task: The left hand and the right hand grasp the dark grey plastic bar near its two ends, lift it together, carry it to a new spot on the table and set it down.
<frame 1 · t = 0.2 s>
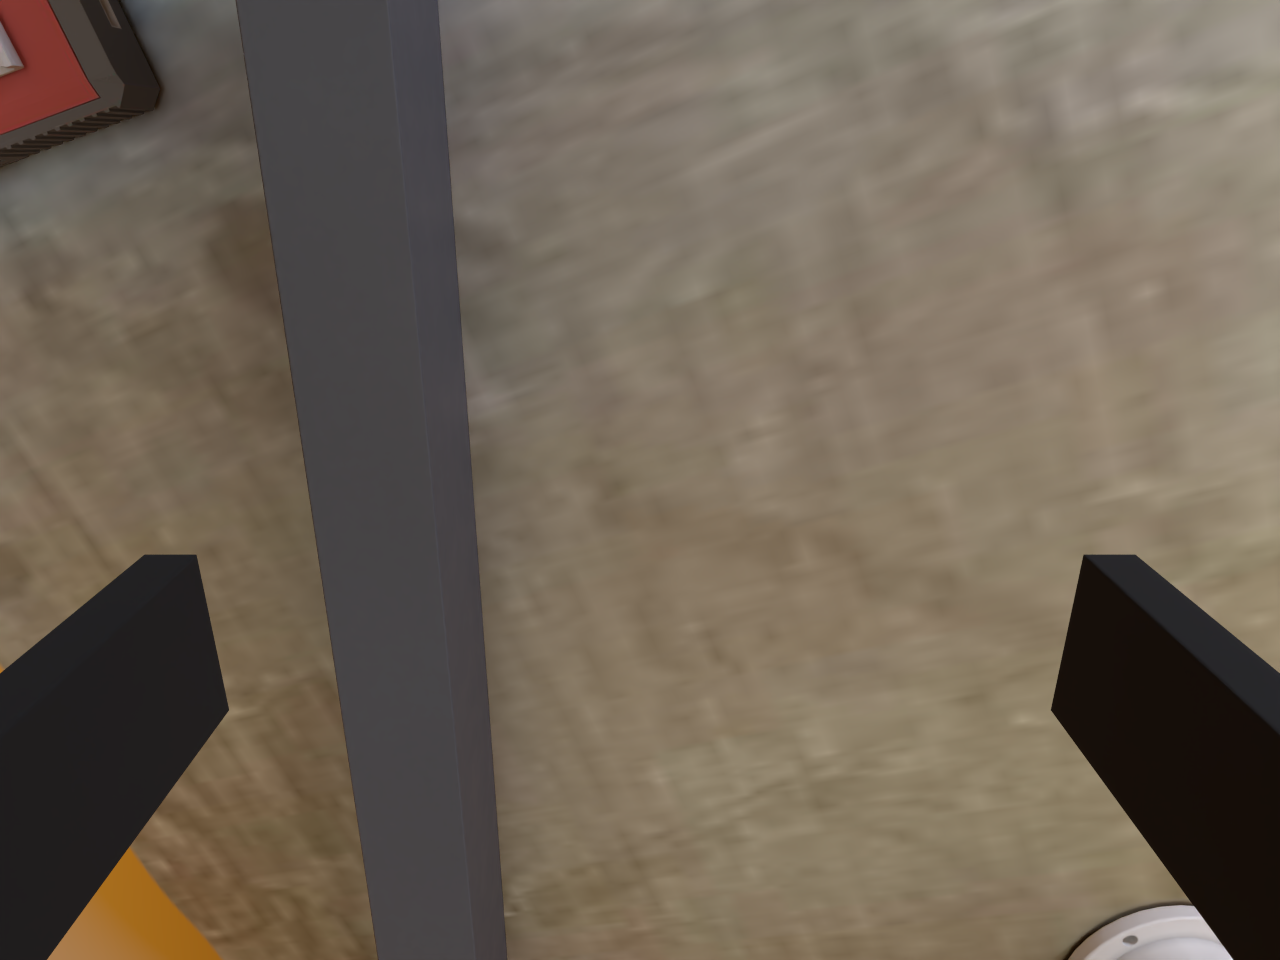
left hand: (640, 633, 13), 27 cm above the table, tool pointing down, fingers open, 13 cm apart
bar: (432, 584, 43), on the table
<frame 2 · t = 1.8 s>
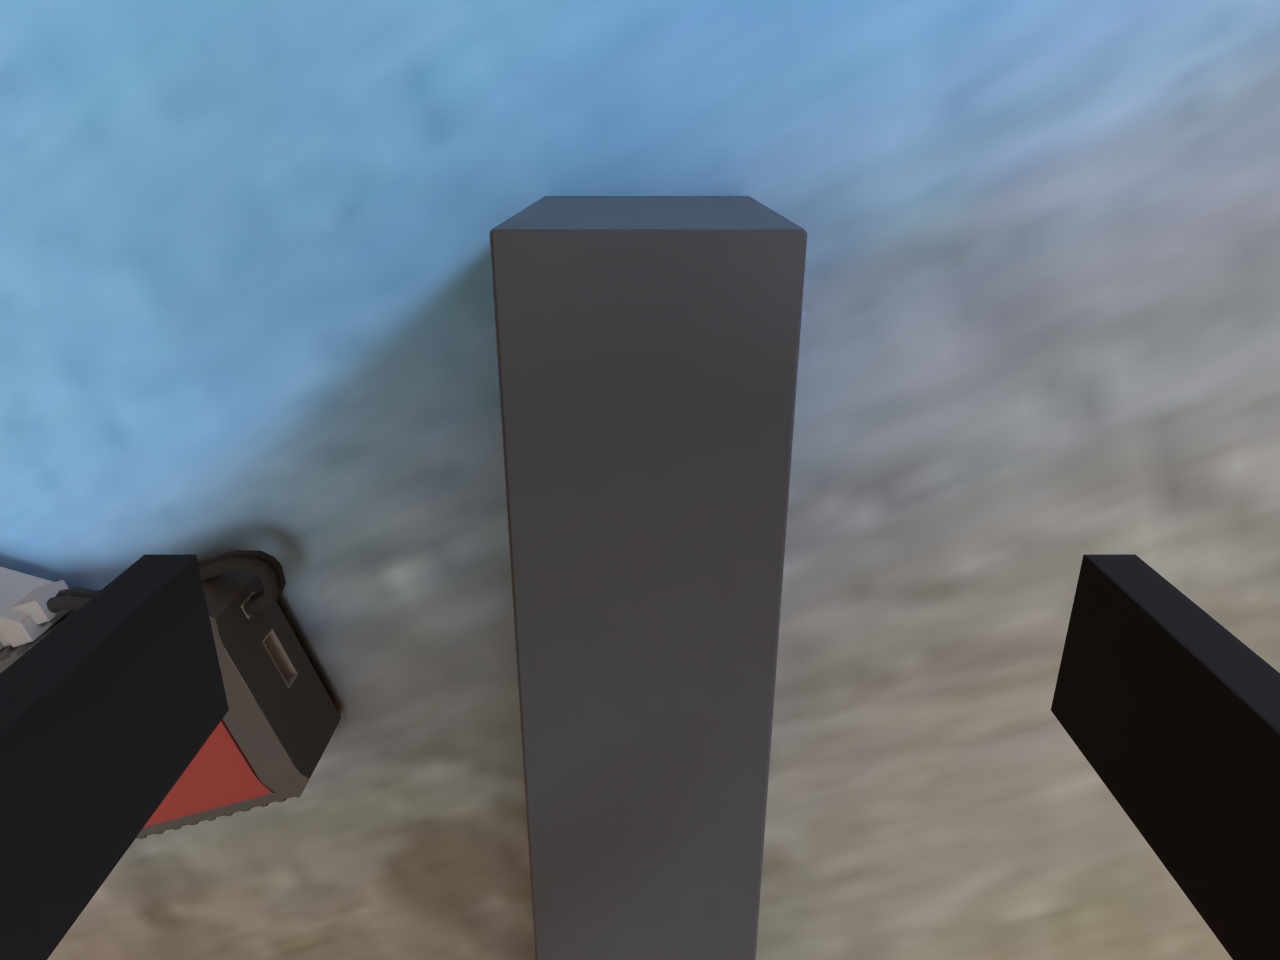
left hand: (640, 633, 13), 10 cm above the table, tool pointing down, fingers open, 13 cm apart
walkie-talkie: (24, 687, 25), on the table
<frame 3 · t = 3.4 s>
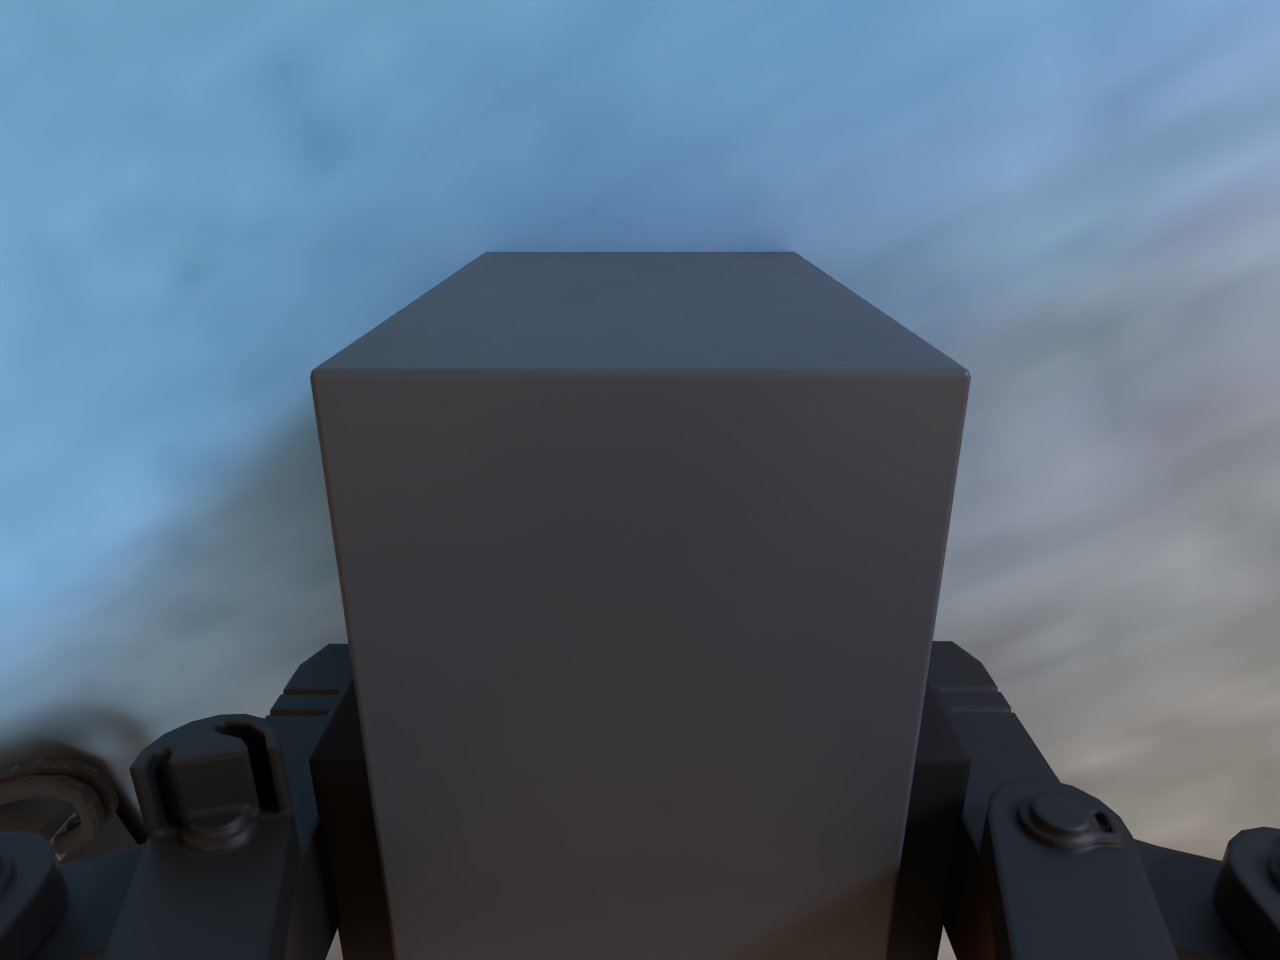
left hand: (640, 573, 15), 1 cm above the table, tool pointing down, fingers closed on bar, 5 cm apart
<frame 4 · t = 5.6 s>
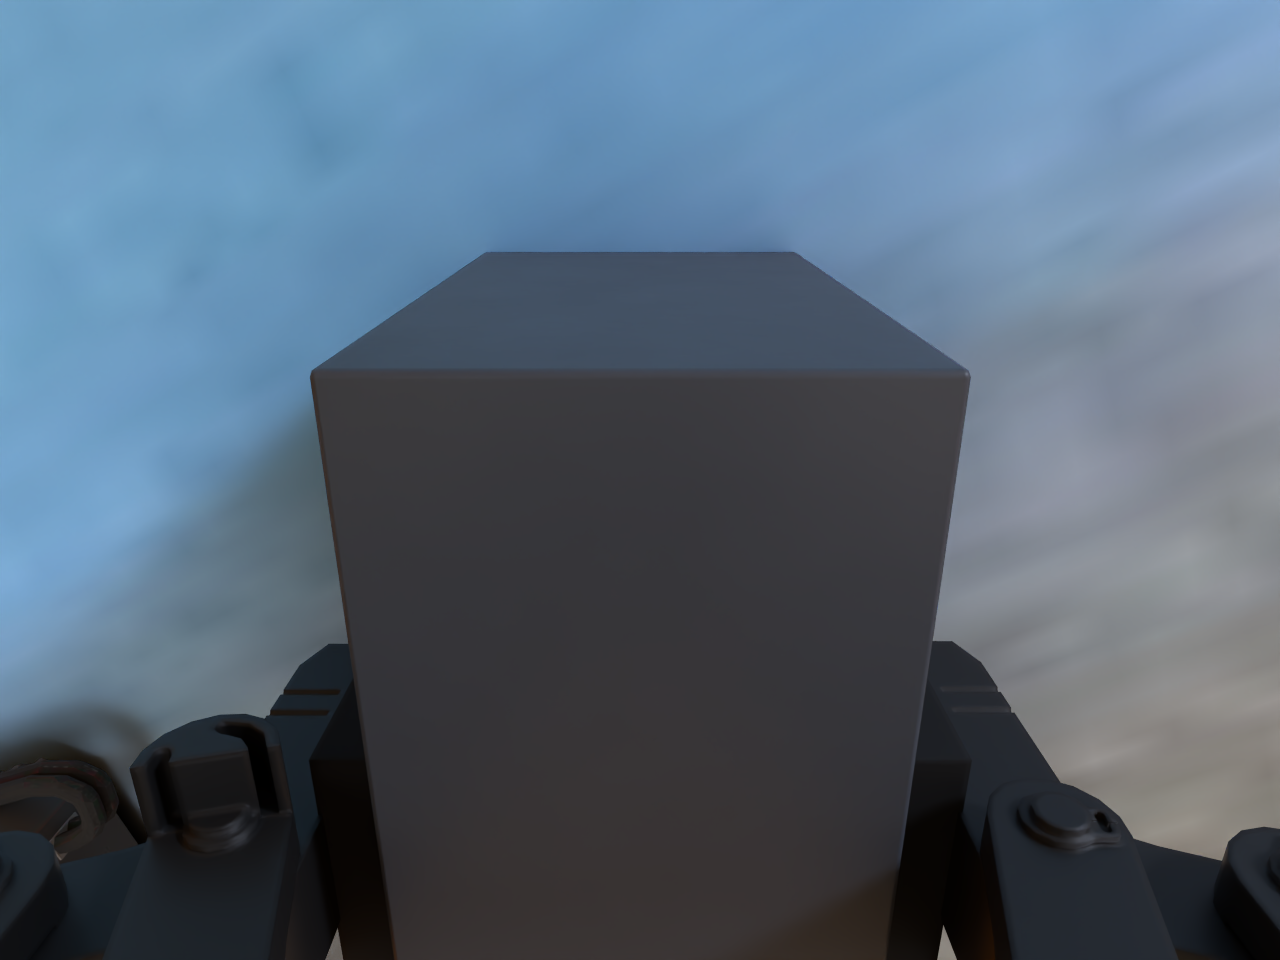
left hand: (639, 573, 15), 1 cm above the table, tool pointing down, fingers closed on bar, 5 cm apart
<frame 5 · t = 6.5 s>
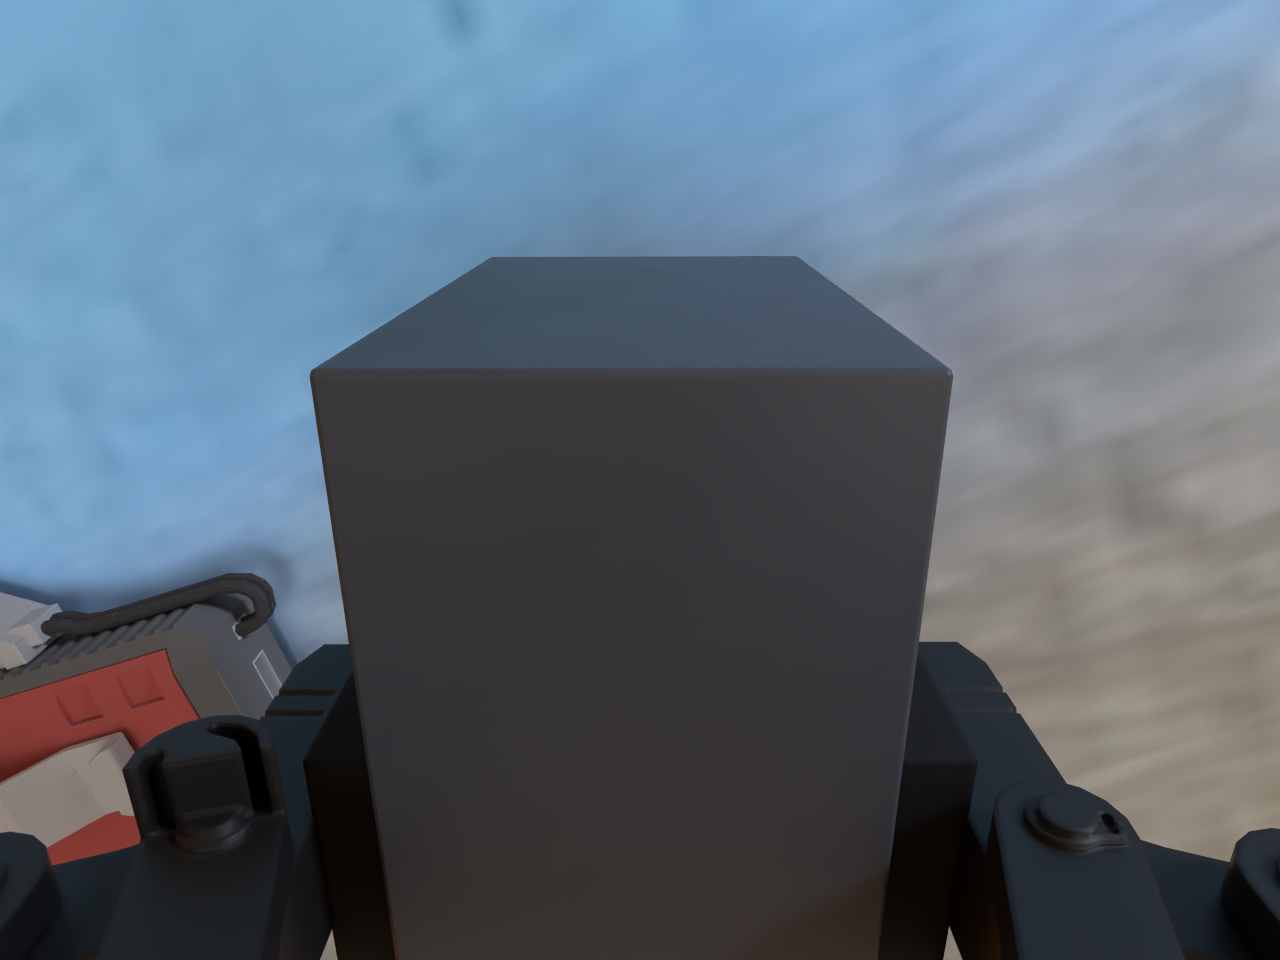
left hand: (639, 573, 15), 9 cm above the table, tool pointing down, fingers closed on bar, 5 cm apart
walkie-talkie: (15, 710, 26), on the table
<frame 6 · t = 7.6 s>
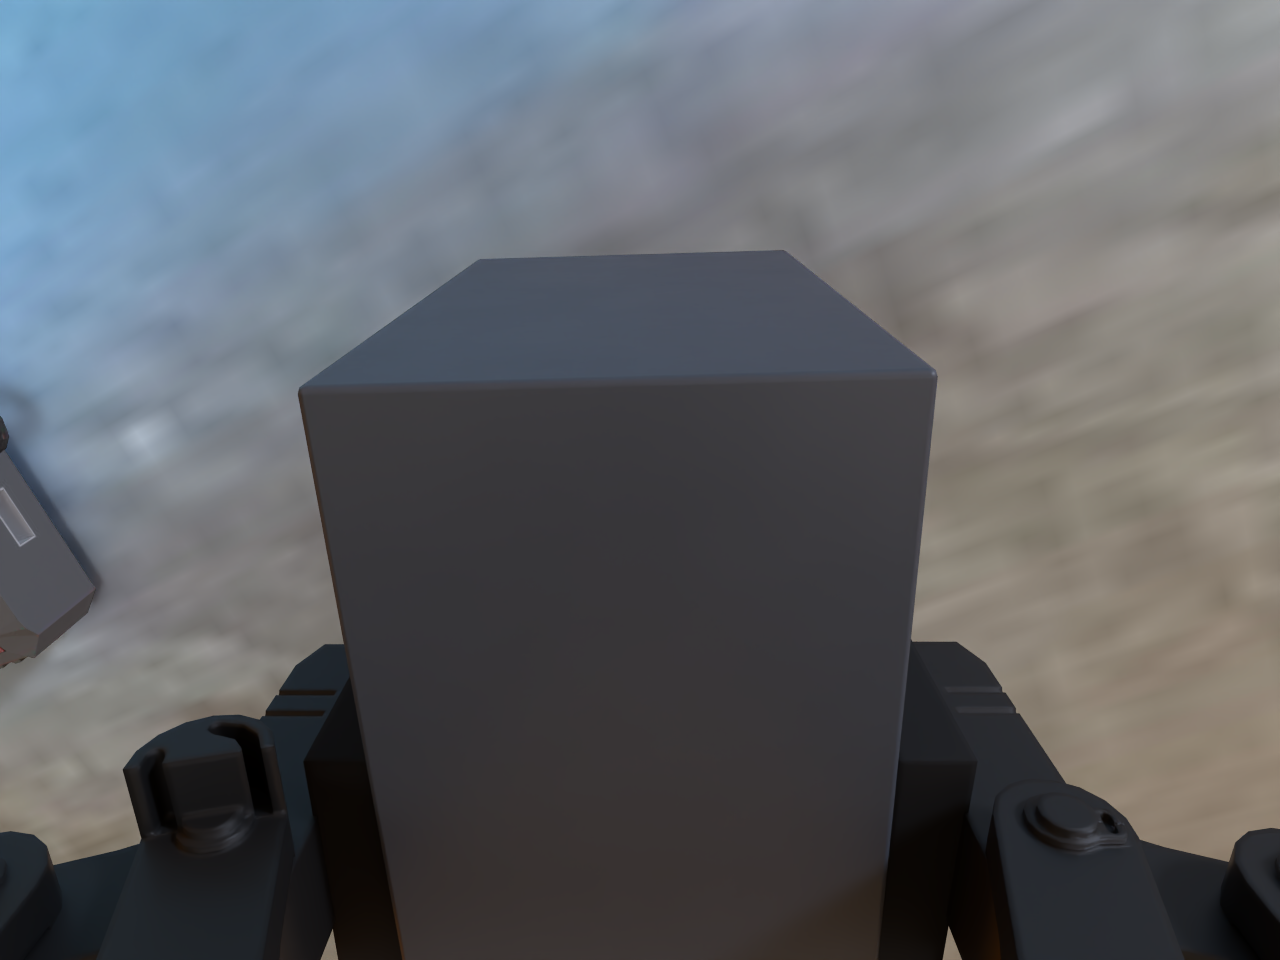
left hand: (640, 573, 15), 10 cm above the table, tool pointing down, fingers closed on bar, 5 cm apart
when the left hand's fingers open (2 cm above the table, at t = 10.0 s): bar stays where it is, on the table.
when the right hand's fingers open (3 cm above the table, at t = 10.1 s): bar stays where it is, on the table.
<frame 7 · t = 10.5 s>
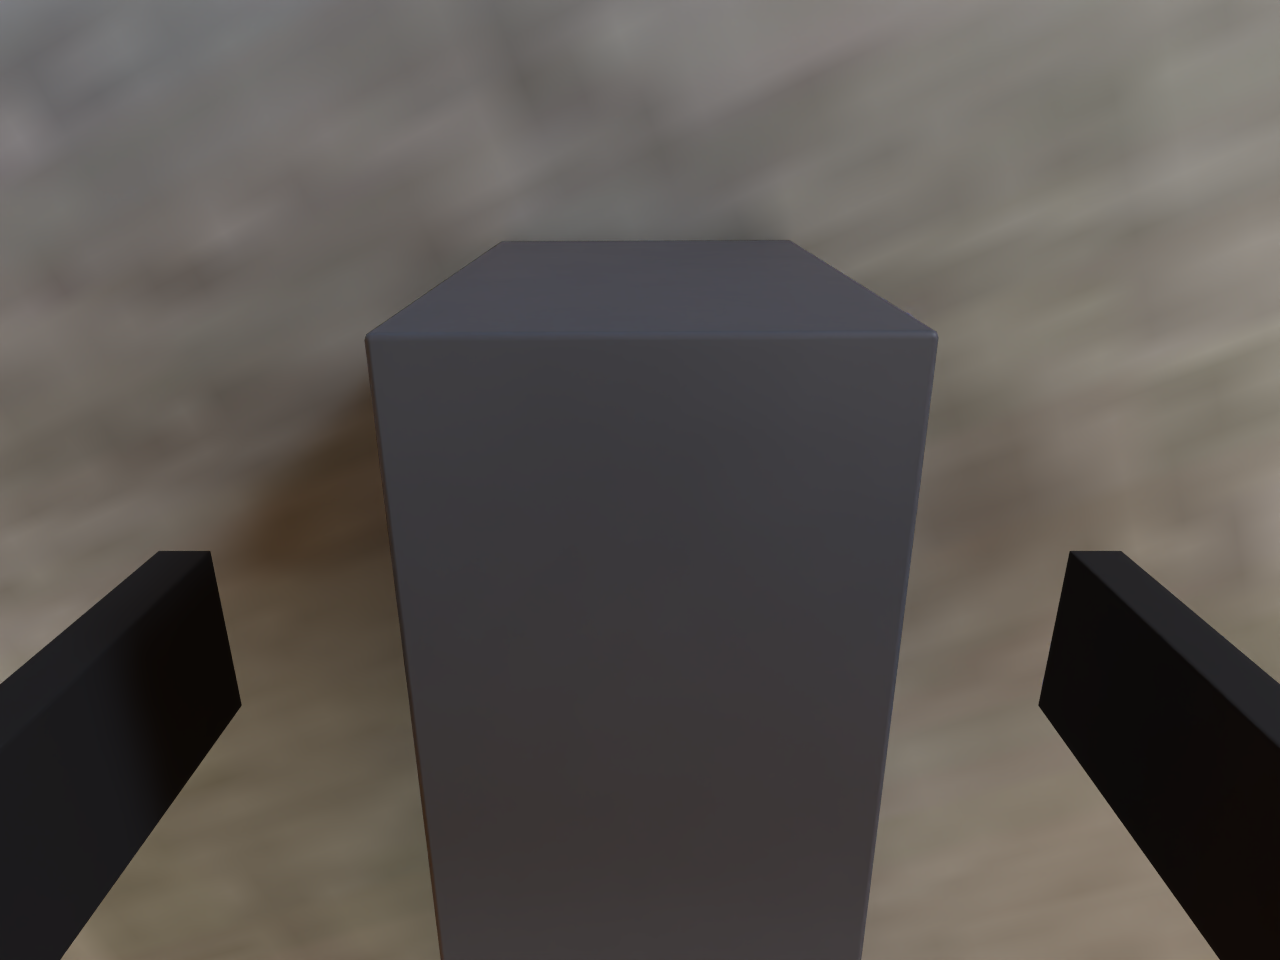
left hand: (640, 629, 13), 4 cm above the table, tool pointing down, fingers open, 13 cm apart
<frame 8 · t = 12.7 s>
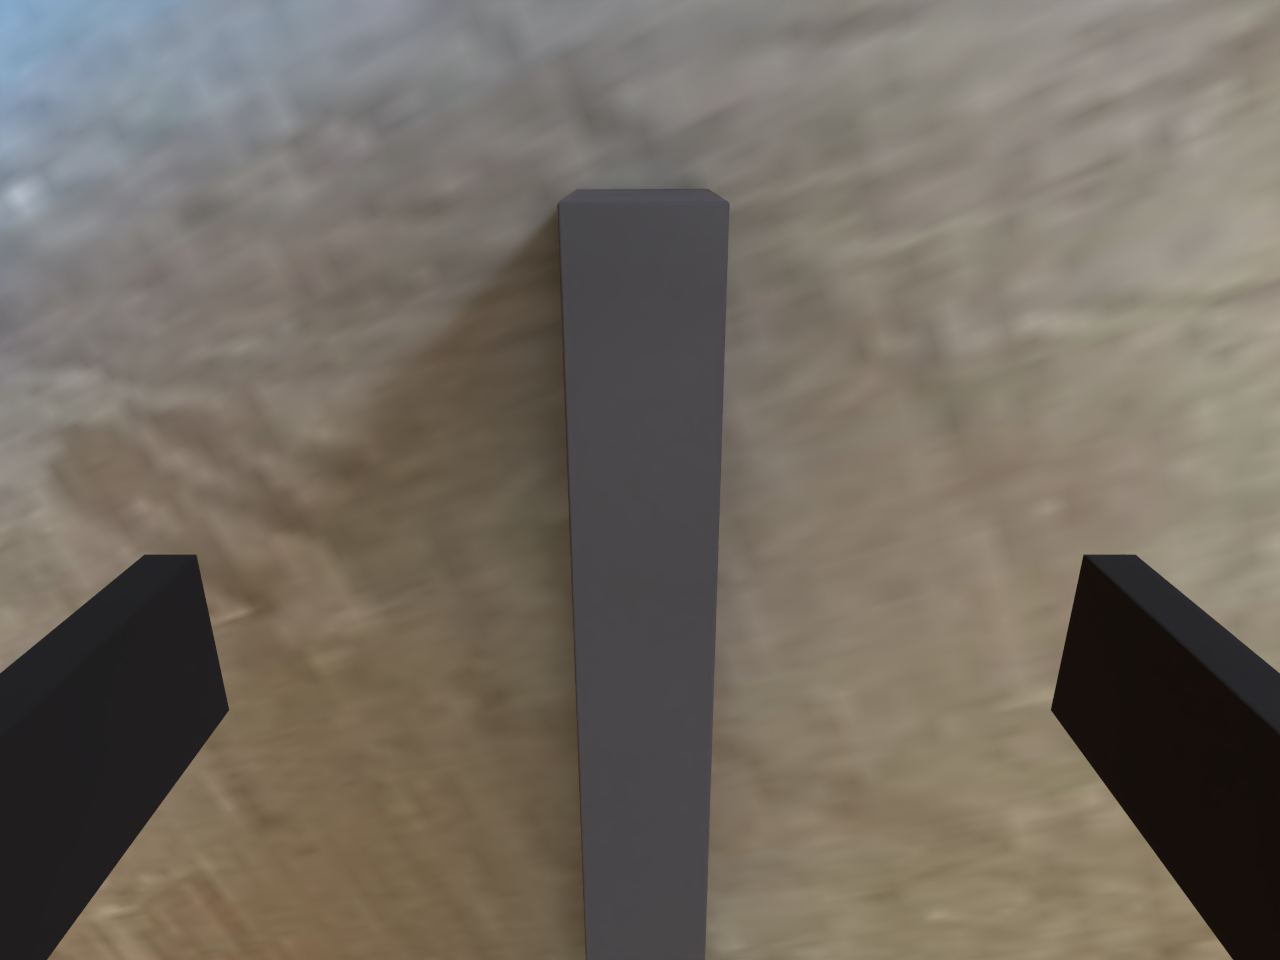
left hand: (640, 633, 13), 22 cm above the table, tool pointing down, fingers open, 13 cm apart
bar: (644, 940, 45), on the table
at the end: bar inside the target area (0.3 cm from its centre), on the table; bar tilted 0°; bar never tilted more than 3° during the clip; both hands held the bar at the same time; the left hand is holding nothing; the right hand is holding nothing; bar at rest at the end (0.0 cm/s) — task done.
